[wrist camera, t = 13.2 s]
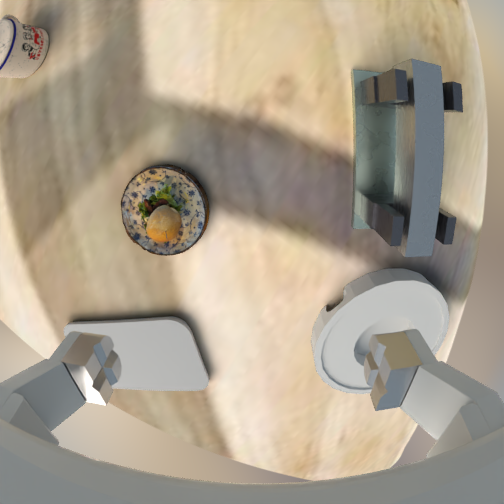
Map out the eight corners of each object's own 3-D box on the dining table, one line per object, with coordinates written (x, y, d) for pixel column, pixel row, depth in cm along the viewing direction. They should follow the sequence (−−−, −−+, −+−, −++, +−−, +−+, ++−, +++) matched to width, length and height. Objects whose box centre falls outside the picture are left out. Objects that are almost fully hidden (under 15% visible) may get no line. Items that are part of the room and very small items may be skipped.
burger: (165, 145, 34) (142, 150, 27) (229, 212, 37) (221, 232, 30) (110, 209, 37) (82, 226, 30) (168, 267, 41) (151, 295, 34)
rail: (392, 66, 24) (411, 58, 20) (420, 71, 24) (440, 66, 19) (389, 241, 32) (404, 257, 27) (414, 240, 31) (431, 255, 27)
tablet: (214, 381, 50) (212, 390, 48) (99, 379, 52) (95, 386, 50) (188, 309, 43) (185, 318, 41) (64, 317, 46) (58, 324, 44)
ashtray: (311, 386, 49) (313, 402, 46) (308, 277, 40) (312, 292, 37) (424, 364, 47) (431, 378, 44) (448, 258, 38) (461, 269, 35)
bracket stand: (350, 70, 29) (382, 51, 19) (421, 81, 28) (467, 72, 19) (351, 226, 37) (378, 260, 27) (416, 225, 36) (456, 256, 27)
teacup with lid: (54, 59, 28) (1, 51, 17) (16, 89, 29) (-35, 91, 18) (47, 5, 23) (1, -10, 13) (11, 36, 25) (-35, 30, 14)
